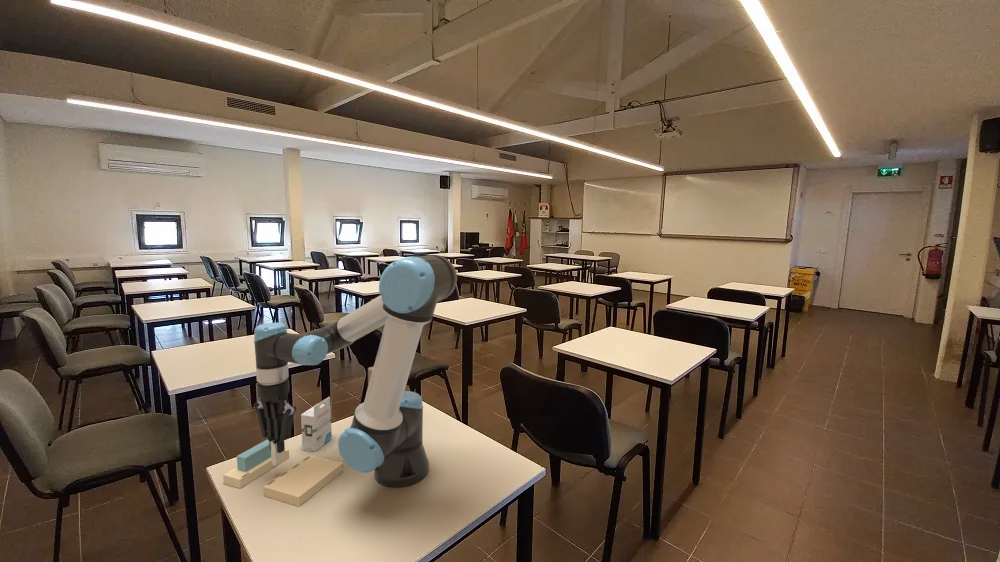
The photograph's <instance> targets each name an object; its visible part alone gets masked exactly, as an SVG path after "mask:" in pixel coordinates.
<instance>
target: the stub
mask: <svg viewBox="0 0 1000 562" xmlns="http://www.w3.org/2000/svg"><path fill="white" fill-rule="evenodd" d="M289 458H290V449H289V448H285V450H284V461H285V460H288V459H289ZM284 461H282V462H280V463H279V464H277V465H273V464H272V458H271V451H270V444H269V441H268V438H266V440H263V441H261V442H260V443H258V444H257V445H254V446H253V447H251V448H249V449H247V450H246V451H244V452H242V453H240V454H238V455H236V464H237V466H236V467H234V468H233V469H231V470H229V471H227V472H226V473H224V474H223V475H222V479H223V484H224V485H228V486H231V487H234V488H237V489H242V488H244V487H245V486H247V485H248V484H250V483H251V482H253V481H254V480H256V479H257V478H260V477H261V476H262V475H264V474H265V473H267V472H269V471H270V470H272V469H274V467H276V466H278V465H280V464H281V463H283V462H284Z"/></svg>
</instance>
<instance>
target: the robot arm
mask: <svg viewBox="0 0 1000 562" xmlns="http://www.w3.org/2000/svg"><path fill="white" fill-rule="evenodd" d="M457 282H458V275H457V271H456V268H455V266H454V264H453V263H452V262H451V261H450V260H449V259H447V258H446V257H444V256H442V255H438V254H429V255H421V256H419V255H418V256H406V257H405V256H404V257H403V258H400V259H396V260H395V261H393V262H391V263H390V264H389V265H388V266H387V267H386V268H384V271H383V272H382V274H381V275H380V278H379V284H378V293H379V295H378V296H377V297H375V298H373V299H372V300H370V301H368V302H367V303H365V304H363V305H362V306H360V307H358V308H356V309H355V310H353V311H351V312H349V313H348V314H346V315H345V316H343V317H340V318H339V319H337V320H336V321H335V322H332V323H331V324H328V325H326V326H324V327H320V328H317V329H313V330H311V331H307V332H303V333H291V332H288V329H287V325H286V324H285V323H282V322H268V323H267V322H266V323H262V324H259V325H257V326H256V327H255V328H254V337H253V338H254V339H253V343H254V356H255V368H256V371H255V373H256V382H257V395H258V397H259V401H257V402H255V403H253V408H254V409H255V411H256V414H257V415H256V416H257V419H258V422H259V426H260V430H261V435H262V437H263V438H265V439H268V441H269V444H270V451H271V458H272V464H273V465H276V466H278V465H280V464H281V463H283V462H284V461H285V460H284V450H285V449H286V448H285V446H286V445H285V441H286V440H287V439H289V438H291V434H292V429H293V421H294V416H295V412H297V407H296V406H295V405H294V406H292V405H291V404H289V399H288V394H289V393H290V379H289V376H290V375H289V363H291V364H298V365H301V366H317V365H320V364H321V363H322V362H323V360H324V359H326V358H327V355H328V354H331V353H333V352H336V351H338V350H339V351H340V350H343V349H344V348H347V347H349V346H350V345H353V343H354V342H355V341H357V340H359V339H361V338H363V337H365V336H366V335H368V334H370V333H371V332H373V331H375V330H377V329H379V328H381V327H382V326H383V330H382V335H381V337H380V342H379V346H378V350H377V353H376V357H375V361H374V364H373V366H372V367H373V371H372V375H371V379H370V382H369V386H368V385H367V386H368V387H367V390H366V395H365V398H364V402H361V403H360V404H359V405H358V406H357V407H356V408H355V411H354V414H353V418H352V422H351V424H350V427H348V428H345V430H343V432H342V433H341V434H340V436H339V438H338V441H337V446H338V452H339V455H340V457H341V458H342V459H343V462H344V463H345V464H346V465H347V466H348V467H349V468H351V469H352V470H354V471H356V472H358V473H362V474H363V473H367V474H368V473H371V472H373V471H374V473H373V474H374V475H373V476H374V479H375V480H376V482H378V483H379V484H381V485H383V486H385V487H388V488H389V487H390V488H403V487H408V486H411V485H415V484H416V483H419V482H421V480H423V479H424V478H425V477H426V476H427V474H428V473H429V469H430V467H429V466H430V465H429V459H428V455H427V453H426V452H427V451H426V450H425V447H424V444H423V437H424V436H423V434H424V433H423V424H424V423H423V421H424V420H423V418H424V417H423V416H424V414H423V413H424V411H423V410H424V405H423V398H422V396H421V395H420V394H419V393H417V392H414V391H410V390H406V391H405V387H406V388H407V383H408V379H409V376H410V374H411V369H412V366H413V362H414V360H415V357H416V351H417V349H418V345H419V342H420V338H421V335H422V331H423V328H424V326H425V325H427V324H429V323H431V322H432V320H433V317H434V314H435V310H436V307H437V303H438V302H441V301H443V300H445V299H447V298H448V297H449V296H451V295H452V293H454V290H455V289H456V286H457ZM282 461H283V462H282ZM280 462H281V463H280ZM279 463H280V464H279ZM277 464H278V465H277Z"/></svg>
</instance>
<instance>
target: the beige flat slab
mask: <svg viewBox="0 0 1000 562" xmlns="http://www.w3.org/2000/svg"><path fill="white" fill-rule="evenodd" d="M343 472H344V463H343V462H339V461H336V460H332V459H329V458H324V457H320V456H316V455H312V454H310V455H309V456H307V457H306V458H304V459H302V460H301V461H299V462H298V463H297V464H295V465H293V466H292V467H291V468H289V469H288V470H286V471H285V472H283V473H281V474H280V475H279V476H277V477H276V478H275V479H272V480H271V481H270V482H268V483H267V484H265V485H264V486H263V490H262V491H263V497H265V498H266V497H267V498H269V499H273V500H276V501H280V502H283V503H285V504H286V503H287V504H288V505H292V506H297V507H300V506H302V505H303V504H304V503H305V502H306V501H308V500H309V499H310V498H311V497H313V496H314V495H315V494H317V493H318V492H319V491H320V490H322V489H323V488H324V487H325V486H327V485H328V484H329V483H330V482H332V481H333V480H334V479H335V478H337V477H339V475H340V474H342V473H343Z"/></svg>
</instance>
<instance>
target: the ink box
mask: <svg viewBox="0 0 1000 562" xmlns="http://www.w3.org/2000/svg"><path fill="white" fill-rule="evenodd" d="M331 409H332V406H331V397H330V396H328V397H327V398H324V399H323V400H322V401H321V402H318V403H316V404H315V405H313V406H312V407H311V408H308V409H307V410H306V411H304V412H303V413H301V414H300V420H301V421H300V422H301V424H300V425H301V426H300V427H301V448H302V451H309V452H318V451H319V450H320V449H321V448H322V447H324V446H325V445H326V444H327V443H328V442H329V441H330V440H332V435H333V434H332V410H331Z"/></svg>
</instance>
